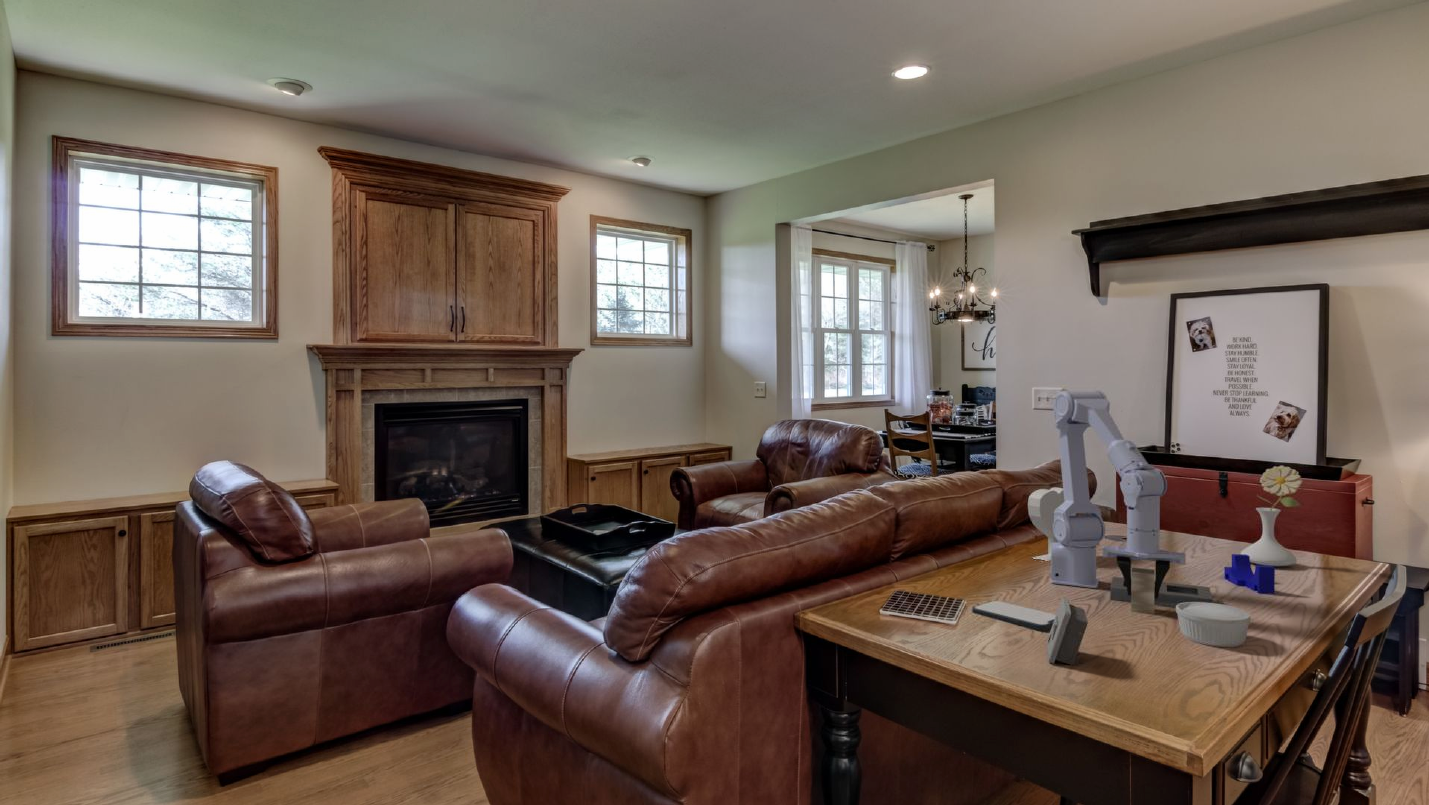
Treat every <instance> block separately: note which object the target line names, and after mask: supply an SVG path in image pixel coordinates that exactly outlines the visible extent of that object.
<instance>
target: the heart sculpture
mask: <svg viewBox="0 0 1429 805" xmlns="http://www.w3.org/2000/svg"><path fill="white" fill-rule="evenodd" d="M1064 502H1065V501H1064V490H1063V488H1062V487H1057V486H1056V487H1055V486H1054V487H1051V488H1050V489H1046V488H1039V489H1037V490H1034V491H1033V492H1032V493H1031V494H1030V495H1029V497H1028V501H1027V510H1028V511H1027V512H1028V516H1029V519H1030V521H1031V522H1032V524H1033V526H1035V528H1036V529H1037V530H1038V531H1040V532H1041V533H1042V534H1043V535H1045V536H1046V537H1047V539H1048V540H1047V545H1048V549H1047V550H1048V551H1047V552H1048V553H1047V554H1042V555H1038V556H1033V557H1032V558H1033V559H1041V560H1045V561H1049V560H1051V549H1052V543H1053V542H1058V540H1057V539H1056V537H1055V535H1054V533H1053V523H1054V511H1055V510H1056V509H1057V508H1058V507H1059V506H1060V505H1061V504H1063V503H1064ZM1070 516H1077V513H1076V514H1072V515H1070ZM1058 543H1059V542H1058ZM1033 559H1032V560H1033Z"/></svg>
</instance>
